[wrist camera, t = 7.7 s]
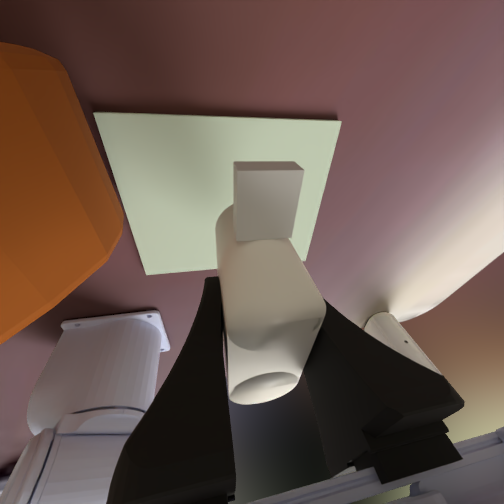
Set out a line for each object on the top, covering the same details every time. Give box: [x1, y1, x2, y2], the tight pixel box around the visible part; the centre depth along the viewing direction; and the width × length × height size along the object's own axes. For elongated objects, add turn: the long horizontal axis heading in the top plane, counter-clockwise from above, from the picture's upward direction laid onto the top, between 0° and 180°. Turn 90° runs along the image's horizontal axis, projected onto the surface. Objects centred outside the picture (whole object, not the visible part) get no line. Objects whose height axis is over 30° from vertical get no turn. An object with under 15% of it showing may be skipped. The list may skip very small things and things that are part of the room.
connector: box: [215, 161, 326, 404], centre depth 10 cm, size 3×11×6 cm, turn 177°
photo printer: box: [364, 312, 443, 376], centre depth 33 cm, size 10×4×12 cm, turn 4°
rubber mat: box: [93, 112, 342, 275], centre depth 19 cm, size 16×13×1 cm
